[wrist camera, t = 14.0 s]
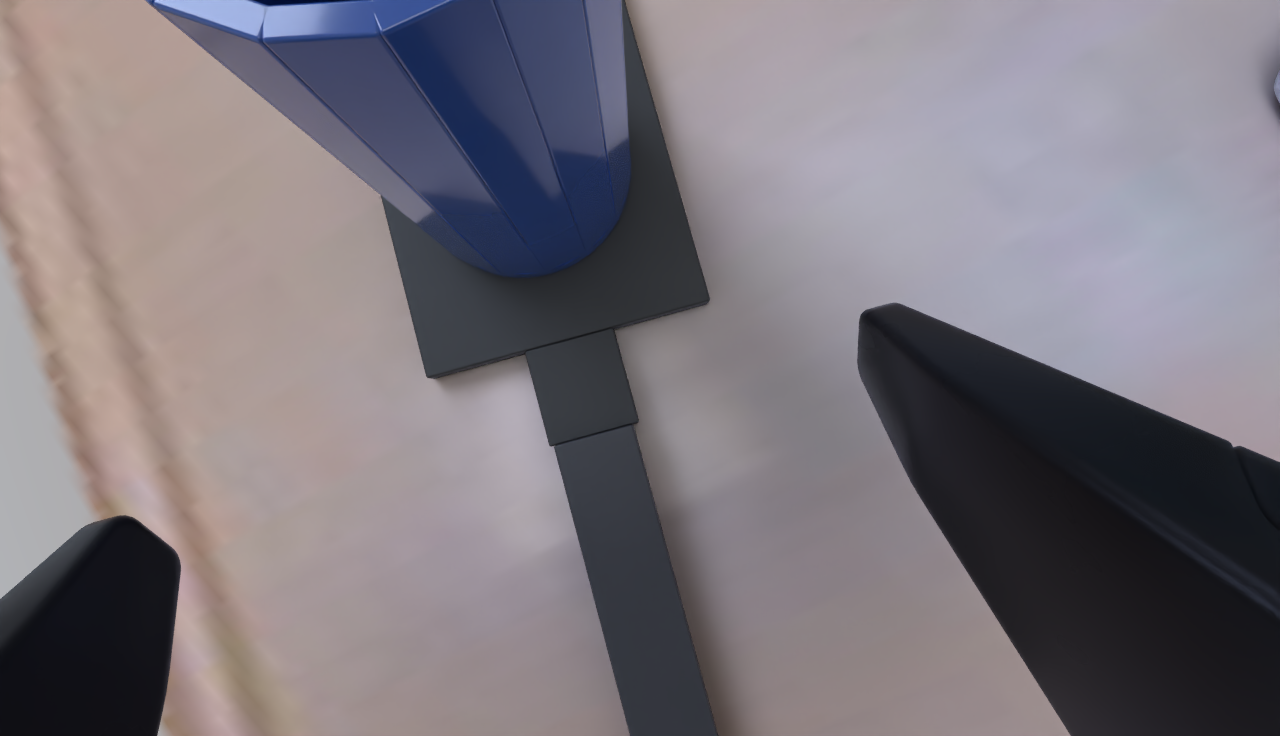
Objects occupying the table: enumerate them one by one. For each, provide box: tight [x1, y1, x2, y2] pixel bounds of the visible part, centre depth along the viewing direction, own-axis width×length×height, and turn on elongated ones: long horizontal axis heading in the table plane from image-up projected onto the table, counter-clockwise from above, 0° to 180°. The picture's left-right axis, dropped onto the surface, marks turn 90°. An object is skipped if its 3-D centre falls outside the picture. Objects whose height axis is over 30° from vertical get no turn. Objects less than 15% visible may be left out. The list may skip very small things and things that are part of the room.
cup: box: [145, 0, 631, 278], centre depth 13 cm, size 7×7×12 cm
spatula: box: [381, 0, 718, 736], centre depth 19 cm, size 26×9×1 cm, turn 15°
